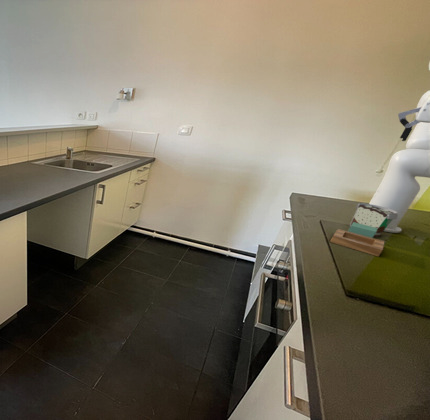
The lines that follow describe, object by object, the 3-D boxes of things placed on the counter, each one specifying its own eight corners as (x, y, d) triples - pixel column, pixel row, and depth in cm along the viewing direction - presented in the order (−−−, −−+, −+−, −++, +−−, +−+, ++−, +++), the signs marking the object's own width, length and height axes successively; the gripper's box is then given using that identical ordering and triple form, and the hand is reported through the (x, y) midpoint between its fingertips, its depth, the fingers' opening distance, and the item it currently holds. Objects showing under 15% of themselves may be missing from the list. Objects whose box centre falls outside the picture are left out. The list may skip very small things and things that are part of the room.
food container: (395, 240, 90) (411, 215, 86) (375, 238, 91) (390, 213, 87) (363, 226, 101) (376, 204, 97) (346, 224, 102) (358, 202, 98)
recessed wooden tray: (334, 234, 92) (338, 228, 91) (380, 247, 84) (384, 241, 83) (329, 241, 86) (333, 235, 85) (378, 256, 78) (382, 249, 77)
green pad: (348, 231, 96) (353, 222, 94) (371, 237, 91) (377, 228, 90) (345, 234, 92) (351, 225, 91) (370, 241, 88) (376, 231, 86)
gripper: (523, 80, 65) (478, 146, 71) (414, 84, 78) (385, 139, 84) (532, 77, 61) (483, 147, 67) (415, 81, 74) (384, 139, 80)
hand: (428, 142), depth 76 cm, fingers open, 9 cm apart
